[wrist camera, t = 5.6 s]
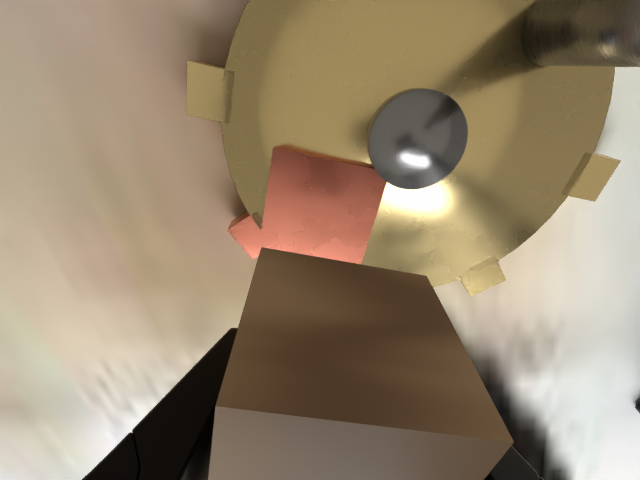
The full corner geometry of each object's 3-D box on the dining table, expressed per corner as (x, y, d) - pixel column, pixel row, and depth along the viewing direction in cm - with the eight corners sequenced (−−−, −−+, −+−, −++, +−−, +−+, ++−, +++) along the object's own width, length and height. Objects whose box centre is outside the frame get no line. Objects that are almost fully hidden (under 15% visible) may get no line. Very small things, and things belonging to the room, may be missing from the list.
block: (426, 276, 9) (514, 442, 5) (379, 385, 11) (414, 565, 7) (261, 247, 9) (215, 406, 5) (243, 367, 11) (201, 550, 7)
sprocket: (742, -77, 13) (1521, -333, 5) (501, 320, 23) (614, 475, 14) (206, -257, 11) (-179, -1401, 2) (189, 269, 21) (99, 418, 12)
